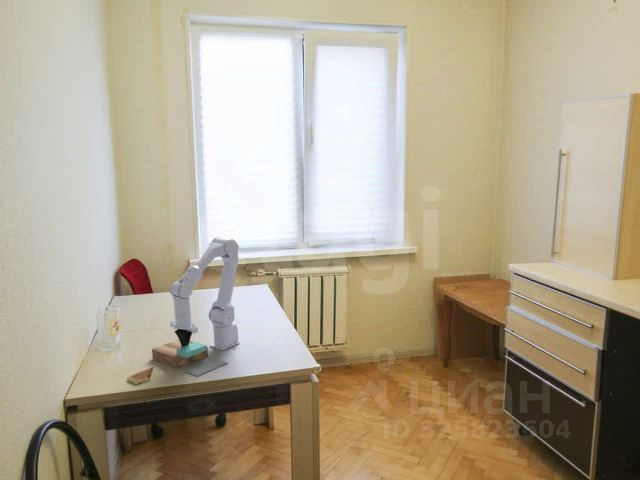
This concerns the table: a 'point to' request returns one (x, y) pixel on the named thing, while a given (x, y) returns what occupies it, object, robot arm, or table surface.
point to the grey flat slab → (203, 366)
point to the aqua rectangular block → (191, 349)
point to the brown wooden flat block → (175, 355)
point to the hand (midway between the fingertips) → (185, 347)
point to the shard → (141, 376)
